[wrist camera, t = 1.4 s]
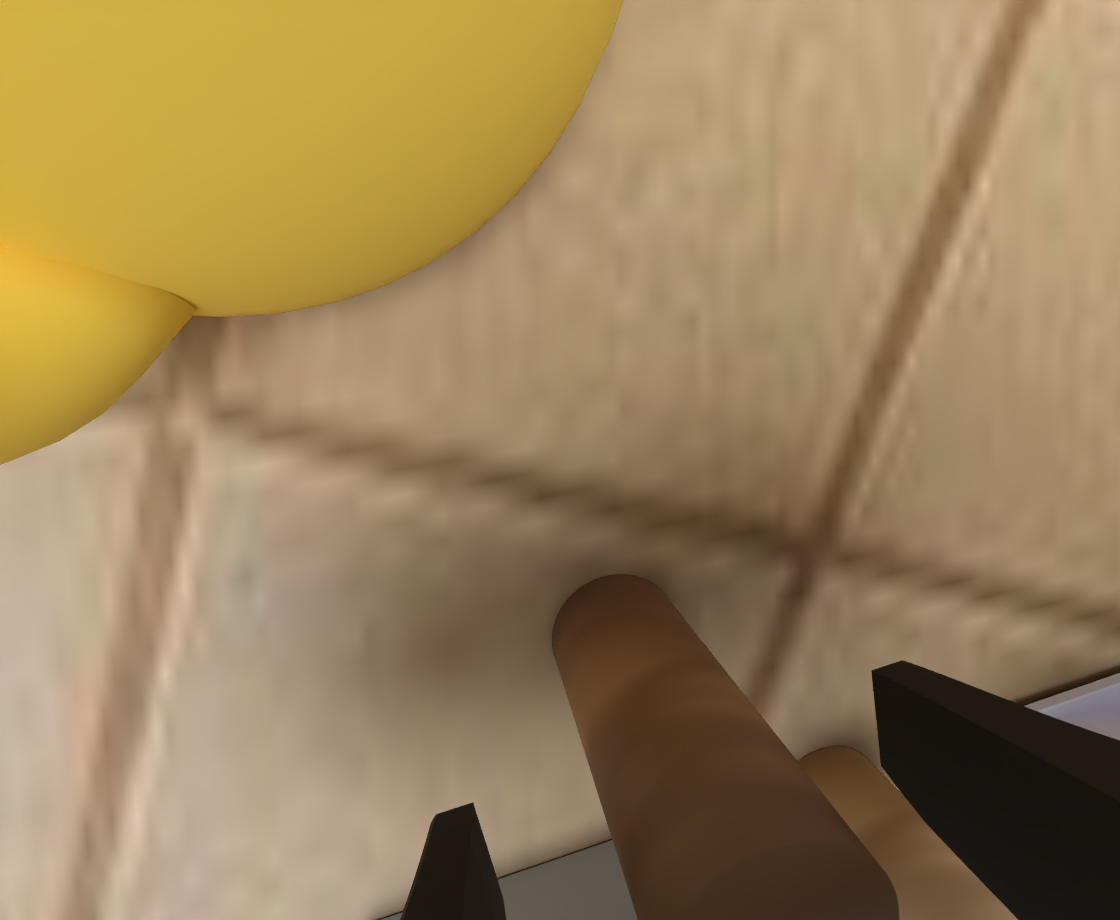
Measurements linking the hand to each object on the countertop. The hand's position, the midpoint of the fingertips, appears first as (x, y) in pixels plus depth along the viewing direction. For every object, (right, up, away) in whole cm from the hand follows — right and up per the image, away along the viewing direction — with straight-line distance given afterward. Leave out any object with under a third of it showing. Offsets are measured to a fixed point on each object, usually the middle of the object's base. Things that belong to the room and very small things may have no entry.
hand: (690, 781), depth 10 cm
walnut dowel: (-1, +1, +5) cm, 5 cm away
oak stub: (+5, -4, +7) cm, 10 cm away
